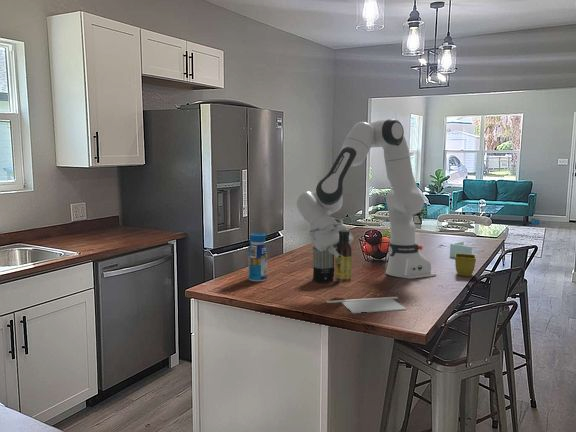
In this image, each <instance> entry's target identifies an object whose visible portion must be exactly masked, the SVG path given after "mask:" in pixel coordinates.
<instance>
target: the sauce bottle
mask: <svg viewBox="0 0 576 432" xmlns="http://www.w3.org/2000/svg"><path fill="white" fill-rule="evenodd" d="M349 231H350V230H349V229H348V230H340V231H339V243H338V245H337V247H336V248H335V249H336V251H339V252H340V254H341V256H340V257H338V258H336V257H335V256H334V277H335V282H338V283H341V284H342V283H343V284H344V283H350V282H351V281H352V268H353V267H352V265H353V264H352V263H353V254H352V253H353V250H352V245H351V243H350V244H349V233H351V231H350V232H349Z"/></svg>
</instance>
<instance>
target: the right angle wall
mask: <svg viewBox="0 0 576 432" xmlns="http://www.w3.org/2000/svg"><path fill="white" fill-rule="evenodd" d="M455 254H470V255H473V246H469V245H468V246H467V245H464V241H463V240H461V241H457V242H453V243H450V244H449V258H454V259H455Z"/></svg>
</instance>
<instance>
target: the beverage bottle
mask: <svg viewBox="0 0 576 432" xmlns="http://www.w3.org/2000/svg"><path fill="white" fill-rule="evenodd" d="M249 242H250V244H249V246H248V248H247V251H248V254H247V259H248V277H247V279H248V280H249V281H250V282H264V281H266V280H268V275H267V274H268V253H267V251H268V247H267V246H266V244H265V243H266V233H261V232H256V233H255V232H253V233H250V234H249Z"/></svg>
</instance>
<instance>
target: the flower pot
mask: <svg viewBox="0 0 576 432" xmlns="http://www.w3.org/2000/svg"><path fill="white" fill-rule="evenodd" d="M454 259H455V260H454V263H455V264H454V265H455V271H456V274H457V275H458V276H459V277H460V276H461V277H471V276H472V274H473V272H474V271H475V268H476V267H475V266H476V262H477V261H476V260H477V256H476V254H472V255H470V254H455V258H454Z"/></svg>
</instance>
